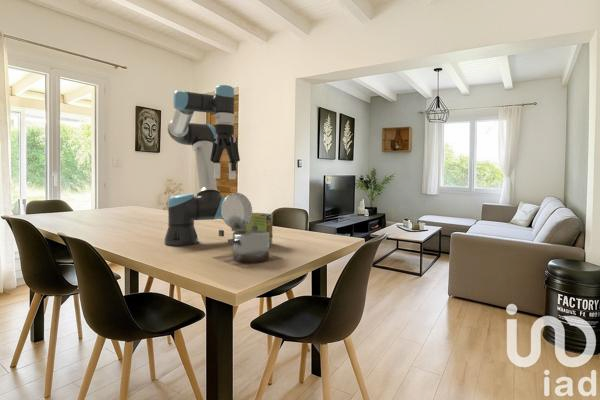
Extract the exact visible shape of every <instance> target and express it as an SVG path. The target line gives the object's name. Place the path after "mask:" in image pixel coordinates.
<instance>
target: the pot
mask: <svg viewBox="0 0 600 400" xmlns="http://www.w3.org/2000/svg"><path fill="white" fill-rule="evenodd" d="M218 237H220V238H221V237H225V231H224V230H222V229H219V230H218ZM271 237H272V238H273V233H272V234H269V232H266V231H260V230H257V226H253V229H252V230H243V231H237V232H234V231H233V233H232V238H228V239H227V243H228V244H231V245H232V253H233V261H235V262H238V263H245V264H254V263H262V262H265V261H268V260H269V254H270V245H269V238H271ZM262 264H263V263H262Z"/></svg>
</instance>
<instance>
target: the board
mask: <svg viewBox="0 0 600 400" xmlns="http://www.w3.org/2000/svg"><path fill="white" fill-rule="evenodd" d="M211 258H212V259H215V260H218V261H221V262H224V263H226V264H229V265H232V266H235V267H238V268H242V269H246V268H249V267H250V268H251V267H254V266H258V265H263V264H265V263H270V262H274V261H278V260H283V259H284V257H281V256H277V255H274V254H270V253H269V260H268V261H265V262H262V263H254V264H245V263H238V262H235V261H233V252H232V253H226V254H221V255H220V254H219V255H217V256H211Z"/></svg>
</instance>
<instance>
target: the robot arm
mask: <svg viewBox="0 0 600 400" xmlns="http://www.w3.org/2000/svg"><path fill="white" fill-rule="evenodd" d="M172 101H173V102H172V103H173V108H174V109H175V110H174V114H173V116H172V119H171V120H170V121H169V122H168V125H167V133H168V135H169V136H170V138H171V139H172V140H173V141H175V142H177V143H178V144H181V145H184V146H186V145H187V146H191V148H192V150H193V151H194V152H195V160H196V170H197V171H196V172H197V178H198V189H199V191H198V192H197V194H196V196H195V195H194V193H182V194H174V195H171V196H170V197H169V198H168V200H167V201H168V202H167V208H168V211H167V212H168V214H167V215H168V217H167V219H168V220H167V221H168V222H167V223H168V224H167V225H168V226H167V230H166V233H165V236H164V245H167V246H176V247H177V246H191V245H194V244H197V243H198V242H199V237H198V234H197V231H196V228H195V221H209V220H212V221H215V220H220V219H221V220H222V219H223V218H222V215H221V206H222V202H223V200H224V199H225V198H226V196H224V195H221V191H220V190H219V189H218V187H217V186H218V185H217V179H221V157H222V154H223V151H224V150H226V153H227V157H228V159H229V161H228V180H236V174H237V173H236V171H237V163H238V162H240V160H241V158H240V154H239V153H240V152H239V148H238V138H237V137H236V136H233V135H234V134H235V126H234V125H235V88H234V87H233V86H231V85H226V84H219V85H217V86H215V91H214V94H208V93H199V92H198V93H197V92H191V91H185V90H175V91H174V93H173V100H172ZM195 112H199V113H209V114H212V115H215V117H214V118H215V126H214V125H212V124H207V123H197V122H196V123H194V122H191V121H192V118H193V115H194V114H195Z"/></svg>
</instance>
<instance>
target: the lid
mask: <svg viewBox="0 0 600 400" xmlns="http://www.w3.org/2000/svg"><path fill="white" fill-rule="evenodd" d="M252 213H253V207H252V204H251V202H250V199H249V198H248V197H247V196H246V195H244V194H243V193H240V192H232V193H230V194H228V195H226V196H225V199H224V200H223V202H222V206H221V215H222V218H221V219H222V220H223V222H224V223H225V224H226V225H227V226H228V227H229V228H230V229H231V232H234V231H236V230H243V229H246V225H247V224H248V223H249V222H250V220H251V217H252Z"/></svg>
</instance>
